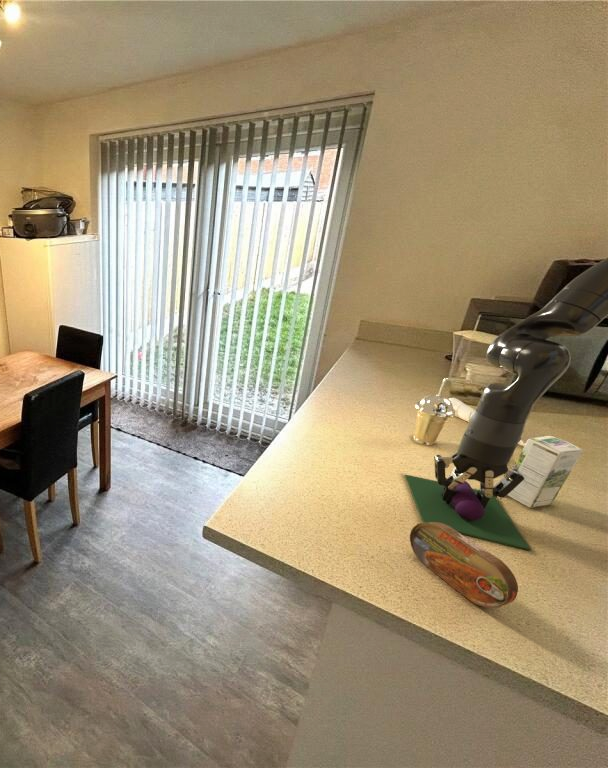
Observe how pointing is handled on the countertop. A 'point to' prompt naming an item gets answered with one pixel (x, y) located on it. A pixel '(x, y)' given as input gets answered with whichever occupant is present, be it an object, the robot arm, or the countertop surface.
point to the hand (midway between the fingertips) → (460, 504)
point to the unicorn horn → (466, 412)
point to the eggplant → (467, 503)
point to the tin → (464, 565)
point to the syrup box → (543, 470)
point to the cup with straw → (433, 415)
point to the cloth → (488, 527)
